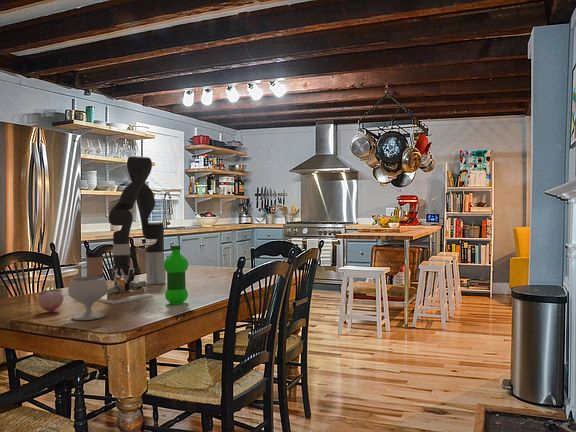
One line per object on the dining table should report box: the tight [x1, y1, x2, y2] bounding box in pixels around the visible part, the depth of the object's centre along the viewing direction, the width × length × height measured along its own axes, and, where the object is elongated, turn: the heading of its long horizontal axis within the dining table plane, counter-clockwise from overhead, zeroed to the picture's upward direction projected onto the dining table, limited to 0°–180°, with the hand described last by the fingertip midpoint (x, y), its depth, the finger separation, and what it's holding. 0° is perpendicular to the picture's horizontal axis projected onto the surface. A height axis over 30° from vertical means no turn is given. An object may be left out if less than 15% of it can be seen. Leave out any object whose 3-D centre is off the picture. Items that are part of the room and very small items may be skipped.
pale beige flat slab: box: [97, 290, 154, 304], centre depth 239 cm, size 20×18×3 cm
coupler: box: [117, 278, 128, 294], centre depth 239 cm, size 5×5×6 cm
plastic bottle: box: [164, 244, 189, 306], centre depth 224 cm, size 10×10×25 cm
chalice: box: [67, 276, 109, 321], centre depth 198 cm, size 14×14×15 cm
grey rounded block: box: [106, 284, 122, 300], centre depth 231 cm, size 8×5×6 cm, turn 174°
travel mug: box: [85, 250, 104, 277], centre depth 257 cm, size 8×8×20 cm
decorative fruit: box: [38, 287, 64, 313], centre depth 210 cm, size 9×8×10 cm
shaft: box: [129, 280, 148, 294], centre depth 245 cm, size 8×5×6 cm, turn 139°
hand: (122, 290), depth 239 cm, fingers closed on coupler, 5 cm apart
